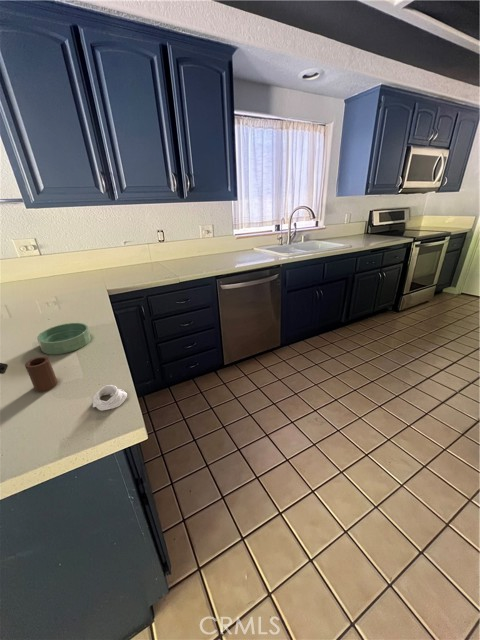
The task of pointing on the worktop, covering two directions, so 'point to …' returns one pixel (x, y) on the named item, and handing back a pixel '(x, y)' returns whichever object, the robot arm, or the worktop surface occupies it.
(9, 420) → the worktop surface
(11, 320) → the worktop surface
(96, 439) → the worktop surface
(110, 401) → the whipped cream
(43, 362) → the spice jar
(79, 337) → the bowl
